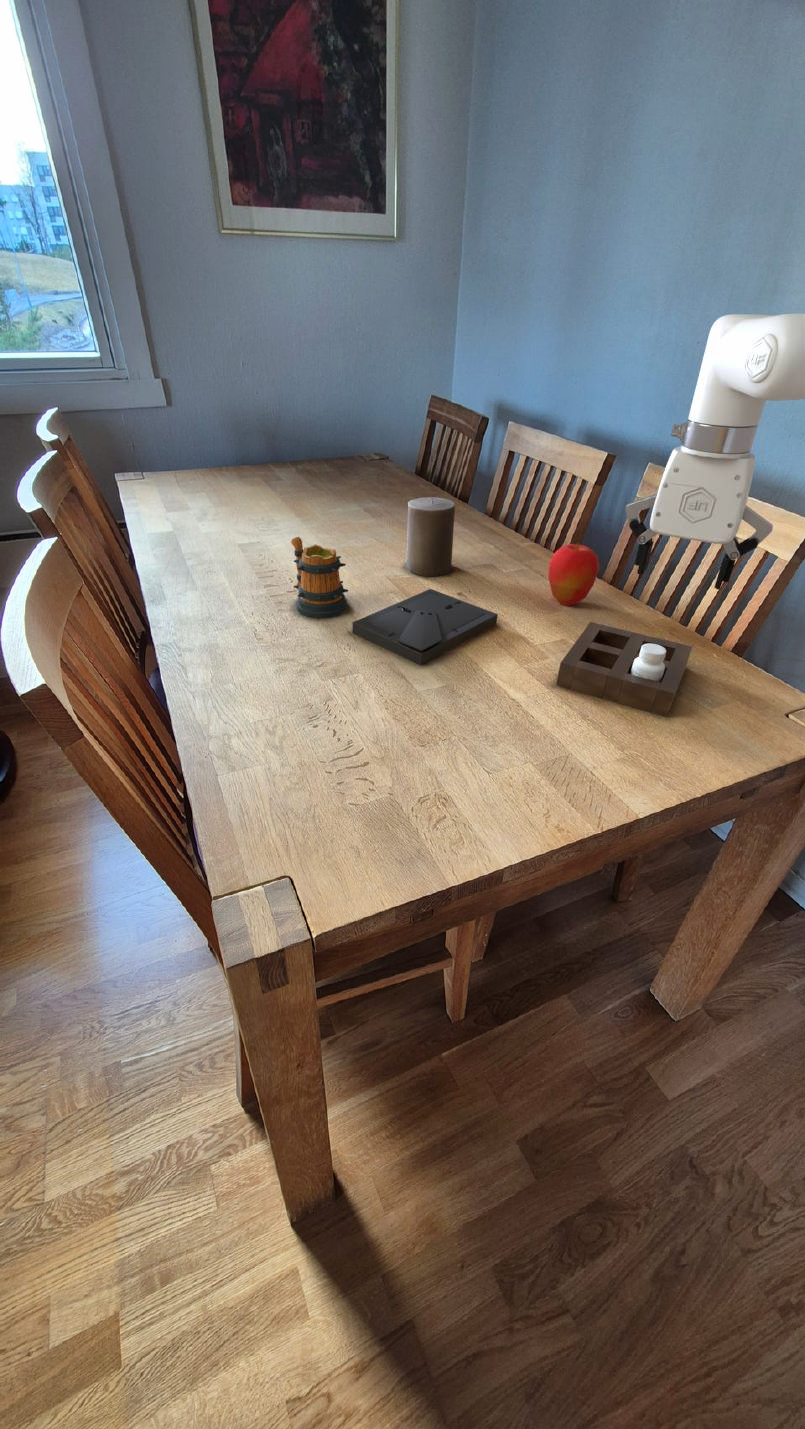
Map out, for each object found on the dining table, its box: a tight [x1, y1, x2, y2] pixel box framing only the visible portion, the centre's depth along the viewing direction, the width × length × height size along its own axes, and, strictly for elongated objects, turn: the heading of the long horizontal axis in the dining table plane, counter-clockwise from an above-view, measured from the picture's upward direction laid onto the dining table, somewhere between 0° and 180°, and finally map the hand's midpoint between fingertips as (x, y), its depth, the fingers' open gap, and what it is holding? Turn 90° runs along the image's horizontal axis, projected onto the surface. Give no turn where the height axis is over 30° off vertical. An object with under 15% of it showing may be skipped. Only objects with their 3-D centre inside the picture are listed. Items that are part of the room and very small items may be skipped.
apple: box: [547, 541, 600, 607], centre depth 118 cm, size 9×9×12 cm
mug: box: [290, 536, 349, 619], centre depth 114 cm, size 13×10×12 cm
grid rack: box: [555, 621, 693, 718], centre depth 97 cm, size 16×16×4 cm
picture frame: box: [351, 588, 499, 666], centre depth 110 cm, size 16×3×21 cm
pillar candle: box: [405, 496, 456, 577], centre depth 130 cm, size 10×10×15 cm
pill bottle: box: [630, 643, 666, 682], centre depth 92 cm, size 4×4×8 cm
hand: (679, 578), depth 83 cm, fingers open, 9 cm apart
